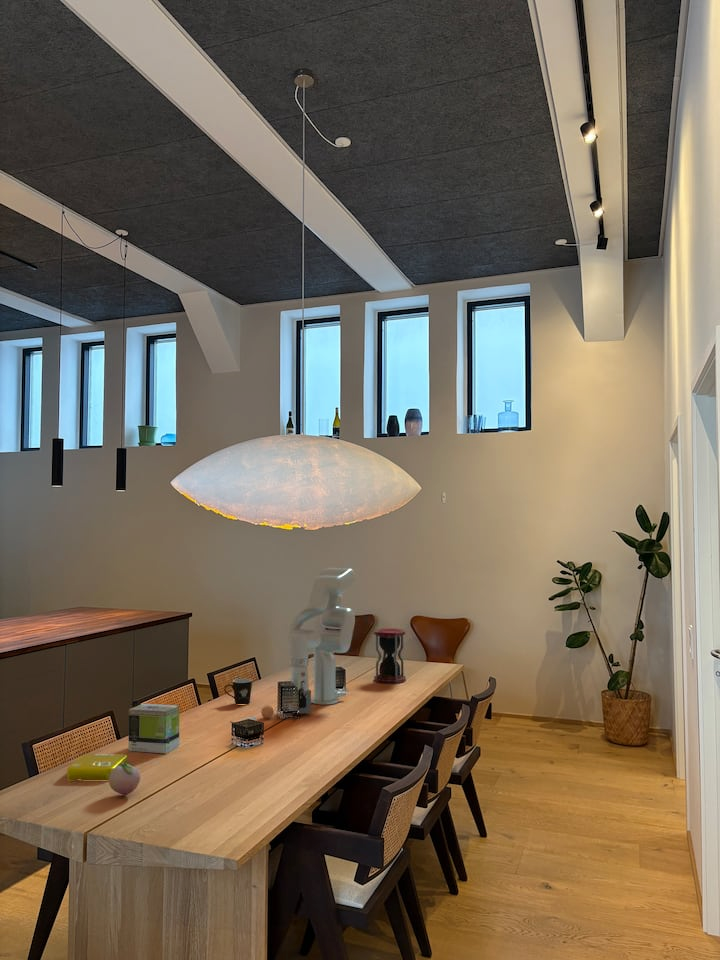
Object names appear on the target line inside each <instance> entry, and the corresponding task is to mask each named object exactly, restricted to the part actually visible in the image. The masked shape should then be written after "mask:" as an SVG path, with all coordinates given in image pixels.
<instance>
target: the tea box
mask: <svg viewBox="0 0 720 960" xmlns="http://www.w3.org/2000/svg"><path fill="white" fill-rule="evenodd" d="M179 746H180V705H179V704H160V703H157V704H156V703H141V704H139V705H137V706H135V707H132V708H130V709H128V751H130V752H141V753H151V754H152V753H154V754H168V753H170V752H172V751H173V750H175V749H177V748H178V747H179Z"/></svg>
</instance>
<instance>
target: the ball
mask: <svg viewBox="0 0 720 960" xmlns="http://www.w3.org/2000/svg"><path fill="white" fill-rule="evenodd" d="M260 713H261V716H262V718H264V719H270V718H272V717H273V715H274V709H273V707H272V706H271V705H264V706H263V707H262V708H261V712H260Z"/></svg>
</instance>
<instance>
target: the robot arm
mask: <svg viewBox="0 0 720 960" xmlns="http://www.w3.org/2000/svg"><path fill="white" fill-rule="evenodd" d="M356 575H357V574H356V572H355V570H353V569H352V568H346V567H344V568H343V567H342V568H341V567H327V568H323V569H321V570H320V572H319V575H318V576H316V577H315V578H314V580H313V583H312V586H311V590H310V593H309V596H308V600H307V603H306V606H305V607H303V608H302V609H301V610H300V611H299V612H298V613H297V614H296V615H295V617H294V618H293V619H292V622H291V623H290V626H289V627H290V628H289V631H288V636H287V640H288V641H287V642H288V644H289V649H290V650H289V653H290V654H289V667H291V672H290V673H291V674H290V675H291V676H290V680H291V681H290V683H291V682H293V683H294V684H295V686H296V687H297V689H298V691H299V690H300V706H299V708H305V707H306V694H307V693H306V692H307V691H308V690H310V689H309V688H310V686H309V671H308V667H309V649H313V651H312V652H313V658H314V660H313V661H314V662H313V663H314V665H313V666H314V667H313V672H314V676H313V677H314V680H313V682H314V683H313V684H314V685H313V687H314V688H313V690H314V691H313V692H314V693H313V697H311V704H315V705H322V706H323V705H325V706H326V705H334V704H338V703H339V702H340V697H346V696H347V691H341V690H339V691H338V690H336V687H337V685H336V684H337V682H336V669H337V668H336V659H335V657H334V655H333V653H336V654H344V653H348V651H349V650H350V647H351V643H352V639H353V634H354V629H355V622H356V616H355V612H354V610H352V609H351V608H348V607H342V606H343V600H344V597H343V595H344V594H345V593H346V592H347V591H349V590H350V589H351V588H352V587H353V586H354V585H355V583H356V580H357V579H356V578H357V577H356ZM318 616H320V619H319V623H320V626H321V627H323V628H325V629H319V630H315V629H302V627H303V625H304V624H305V623H306V622H307V621H309V620H312V619H313V618H315V617H318ZM334 629H337V630H334ZM302 689H303V690H302ZM301 692H302V693H301Z"/></svg>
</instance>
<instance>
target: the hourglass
mask: <svg viewBox="0 0 720 960" xmlns="http://www.w3.org/2000/svg"><path fill="white" fill-rule="evenodd" d="M373 635H375V651H376V653H377V655H378V658H377V660H376V662H375V676H373V681H374V682H376V683H378V684H388V685H389V684H390V685H391V684H401V682H402V683H404V681H405V682H406V681H407V679H406V678H407V677H406V676H405V674H404V660H403V658H402V655H401V654H402V650H403V649H404V636H405V635H406V630H405V629H403V628H377V629H374V630H373ZM379 647H380V648H381V650H382V652H383V655H382V653H381V651H380V650H379ZM399 647H400V649H399ZM398 649H399V650H398ZM397 656H398V659H399V660H400V663H399V662H398V661H397ZM381 659H382V661H381ZM380 661H381V662H380Z"/></svg>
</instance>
